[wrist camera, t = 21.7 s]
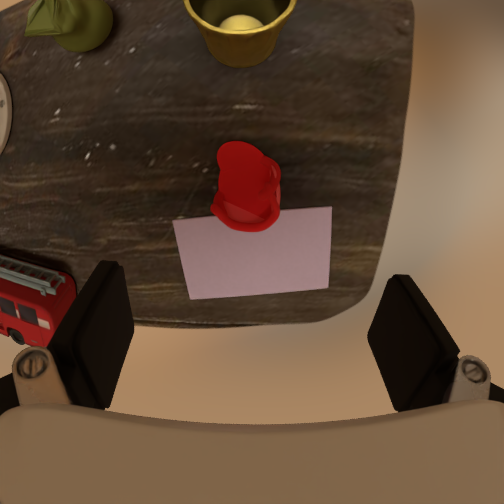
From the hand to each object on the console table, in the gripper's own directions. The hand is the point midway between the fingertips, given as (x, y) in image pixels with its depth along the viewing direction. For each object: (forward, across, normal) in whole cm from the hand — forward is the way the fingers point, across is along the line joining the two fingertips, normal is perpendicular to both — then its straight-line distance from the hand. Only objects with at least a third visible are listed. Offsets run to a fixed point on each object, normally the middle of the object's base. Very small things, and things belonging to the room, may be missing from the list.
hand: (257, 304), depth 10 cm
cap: (+15, 0, +3) cm, 15 cm away
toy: (+16, +32, +20) cm, 42 cm away
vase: (+20, +1, -12) cm, 24 cm away
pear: (+20, +15, -14) cm, 29 cm away
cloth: (+20, -2, +10) cm, 23 cm away
